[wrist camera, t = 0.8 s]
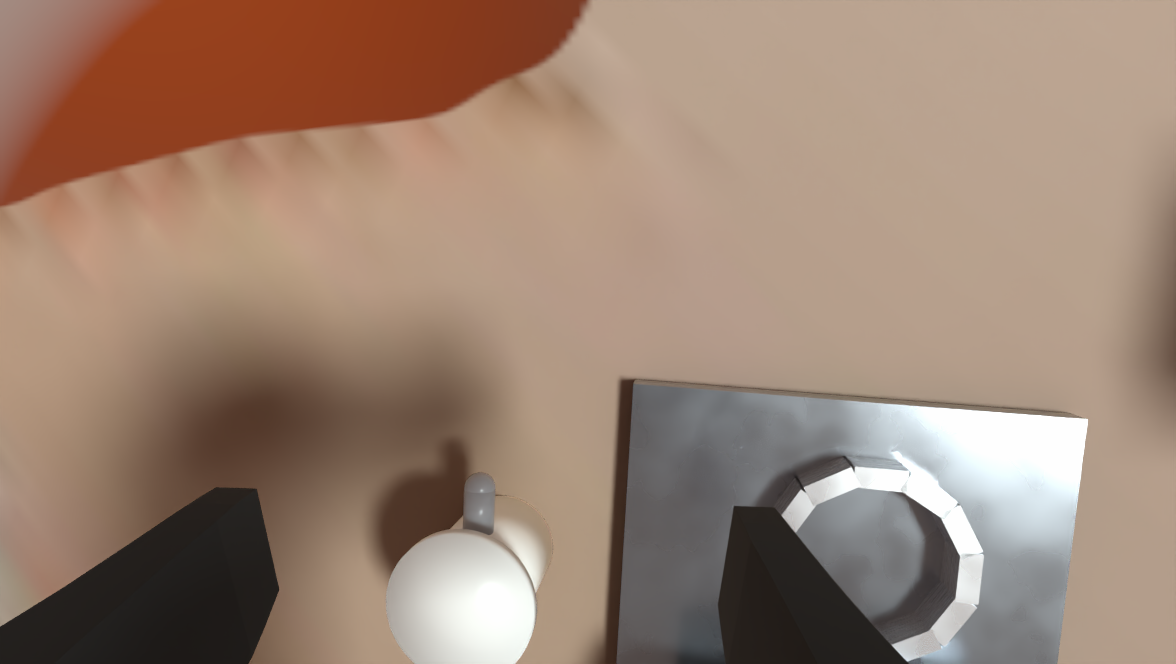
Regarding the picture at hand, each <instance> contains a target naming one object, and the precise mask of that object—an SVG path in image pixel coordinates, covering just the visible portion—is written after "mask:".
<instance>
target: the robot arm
mask: <svg viewBox="0 0 1176 664" xmlns="http://www.w3.org/2000/svg"><path fill="white" fill-rule="evenodd" d="M278 591H279V586H278V582H277V578H276V573H275V569H274V564H273V560H272V555H271V551H270V547H269V542H268V538H267V533H266V529H265V524H264V520H263V515H262V511H261V507H260V502H259V498H258V493H257V489H247V488H219V487H216V488H214V489H213V490H211V491H209V492H208V493H206V494H204V495H203V496H201V497H200V498H198V499H196V500H195V501H193V502H192V503H190V504H189V505H187V506H186V507H184V508H182V509H181V510H179V511H178V512H176V513H175V514H173V515H172V516H170V517H169V518H167V519H166V520H164V521H163V522H161V523H160V524H158V525H157V526H155V527H154V528H152V529H151V530H149V531H148V532H146V533H145V534H143V535H142V536H140V537H139V538H138V539H136V540H135V541H133V542H132V543H130V544H129V545H127V546H126V547H124V548H123V549H121V550H120V551H118V552H117V553H115V554H113V555H112V556H110V557H109V558H107V559H106V560H104V561H103V562H101V563H100V564H98V565H97V566H95V567H94V568H92V569H91V570H89V571H88V572H86V573H85V574H83V575H82V576H80V577H79V578H77V579H76V580H74V581H73V582H71V583H70V584H68V585H67V586H65V587H64V588H62V589H60V590H59V591H57V592H56V593H54V594H52V595H51V596H49V597H47V598H46V599H44V600H43V601H41V602H39V603H38V604H36V605H35V606H33V607H31V608H30V609H28V610H27V611H25V612H23V613H22V614H20V615H19V616H17V617H15V618H14V619H12V620H10V621H9V622H7V623H6V624H4V625H2V626H1V627H0V664H248V663H249V662H250V660H251V658H252V656H253V653H254V651H255V649H256V646H257V644H258V642H259V639H260V637H261V635H262V632H263V630H264V627H265V625H266V622H267V620H268V617H269V615H270V612H271V609H272V607H273V604H274V602H275V599H276V597H277V594H278ZM718 611H719V619H720V627H721V635H722V642H723V649H724V656H725V663H726V664H909V663H908V662H907V661H906V660H905V659H904V658H903V657H902V656H901V655H900V654H899V653H898V651H897V650H896V649H895V648H894V647H893V646H892V645H891V644H890V643H889V642H888V641H887V640H886V638H885V637H884V636H883V635H882V634H881V633H880V632H879V631H878V630H877V629H876V627H875V626H874V625H873V624H872V623H871V622H870V621H869V620H868V618H867V617H866V616H865V615H864V614H863V613H862V612H861V610H860V609H859V608H858V607H857V606H856V605H855V604H854V603H853V601H852V600H851V599H850V598H849V597H848V596H847V595H846V593H845V592H844V591H843V590H842V589H841V588H840V586H839V585H838V584H837V583H836V582H835V580H834V579H833V578H832V577H831V576H830V574H829V573H828V572H827V571H826V570H825V568H824V567H823V566H822V565H821V564H820V562H819V561H818V560H817V559H816V558H815V556H814V555H813V554H812V553H811V551H810V550H809V549H808V548H807V546H806V545H805V544H804V543H803V542H802V540H801V539H800V538H799V537H798V535H797V534H796V533H795V532H794V530H793V529H792V528H791V527H790V525H789V524H788V523H787V522H786V520H785V519H784V518H783V517H782V516H781V514H780V513H779V512H778V511H777V510H776V509H775V508H774V507H753V506H734V508H733V514H732V520H731V526H730V533H729V539H728V545H727V551H726V557H725V563H724V570H723V576H722V582H721V588H720V594H719V600H718Z"/></svg>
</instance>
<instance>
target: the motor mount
mask: <svg viewBox="0 0 1176 664" xmlns="http://www.w3.org/2000/svg"><path fill="white" fill-rule="evenodd" d="M1087 421H1088V420H1087V419H1085V418H1082V417H1079V416H1076V415H1073V414H1071V413H1062V412H1050V411H1037V410H1024V409H1011V408H998V407H985V406H972V405H959V404H947V403H934V402H921V401H908V400H895V399H882V398H869V397H856V396H844V395H831V394H818V393H805V392H792V391H779V390H766V389H753V388H741V387H728V386H715V385H702V384H689V383H676V382H663V381H651V380H638V379H636V380H635V382H634V384H633V398H632V415H631V431H630V448H629V464H628V481H627V497H626V514H625V530H624V547H623V563H622V580H621V596H620V613H619V629H618V646H617V662H616V664H726V663H725V656H724V649H723V642H722V635H721V627H720V619H719V611H718V600H719V594H720V588H721V582H722V576H723V570H724V563H725V557H726V551H727V545H728V539H729V533H730V526H731V520H732V514H733V508H734V506H753V507H774V508H775V509H776V510H777V511H778V512H779V513H780V514H781V516H782V517H783V518H784V519H785V520H786V522H787V523H788V524H789V525H790V527H791V528H792V529H793V530H794V532H795V533H796V534H797V535H798V537H799V538H800V539H801V540H802V542H803V543H804V544H805V545H806V546H807V548H808V549H809V550H810V551H811V553H812V554H813V555H814V556H815V558H816V559H817V560H818V561H819V562H820V564H821V565H822V566H823V567H824V568H825V570H826V571H827V572H828V573H829V574H830V576H831V577H832V578H833V579H834V580H835V582H836V583H837V584H838V585H839V586H840V588H841V589H842V590H843V591H844V592H845V593H846V595H847V596H848V597H849V598H850V599H851V600H852V601H853V603H854V604H855V605H856V606H857V607H858V608H859V609H860V610H861V612H862V613H863V614H864V615H865V616H866V617H867V618H868V620H869V621H870V622H871V623H872V624H873V625H874V626H875V627H876V629H877V630H878V631H879V632H880V633H881V634H882V635H883V636H884V637H885V638H886V640H887V641H888V642H889V643H890V644H891V645H892V646H893V647H894V648H895V649H896V650H897V651H898V653H899V654H900V655H901V656H902V657H903V658H904V659H905V660H906V661H907V662H908V663H909V664H1057V661H1058V653H1059V645H1060V637H1061V629H1062V621H1063V613H1064V605H1065V597H1066V589H1067V581H1068V573H1069V565H1070V557H1071V549H1072V541H1073V533H1074V525H1075V517H1076V509H1077V501H1078V493H1079V485H1080V477H1081V469H1082V461H1083V453H1084V445H1085V437H1086V429H1087Z"/></svg>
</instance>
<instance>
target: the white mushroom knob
mask: <svg viewBox="0 0 1176 664" xmlns="http://www.w3.org/2000/svg"><path fill="white" fill-rule="evenodd" d="M552 553H553V541H552V536H551V532H550V529H549V527H548V525H547V523H546V521H545V519H544V518H543V517H542V515H541V514H540V513H539V512H538V511H537V510H536V509H535V508H534V507H533V506H531V505H530V504H528V503H527V502H525V501H523V500H521V499H518V498H515V497H511V496H501V495H500V496H495V482H494V480H493V479H492V477H491V476H489V475H488V474H486V473H482V472H478V473H475V474H472V475H471V476H470V477H469V478H468V479H467V481H466V482H465V486H464V507H463V516H462V517H461V518H460V519H459V520H458V521H457V522H456V523H455V524H454V525H453V526H452V527H451V528H450V529H448V530H443V531H439V532H436V533H433V534H431V535H429V536H427V537H425V538H423V539H422V540H420V541H419V542H418V543H416V544H415V545H414V546H413V547H412V548H411V549H410V550H409V551H408V552H407V553H406V554H405V555H404V556H403V557H402V558H401V559H400V561H399V562H398V563H397V565H396V567H395V568H394V570H393V572H392V574H391V577H390V580H389V583H388V587H387V593H386V611H387V617H388V621H389V625H390V628H391V631H392V633H393V635H394V638H395V639H396V641H397V643H398V644H399V646H400V648H401V649H402V650H403V652H404V653H405V654H406V655H407V656H408V657H409V658H410V659H411V660H412V661H413V662H414V663H415V664H515V663H516V662H517V661H518V659H519V658H520V657H521V656H522V654H523V652H524V650H525V649H526V647H527V645H528V642H529V640H530V638H531V635H532V633H533V631H534V627H535V623H536V617H537V599H536V592H537V590H538V588H539V586H540V583H541V581H542V579H543V577H544V575H545V573H546V571H547V569H548V567H549V565H550V562H551V559H552Z"/></svg>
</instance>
